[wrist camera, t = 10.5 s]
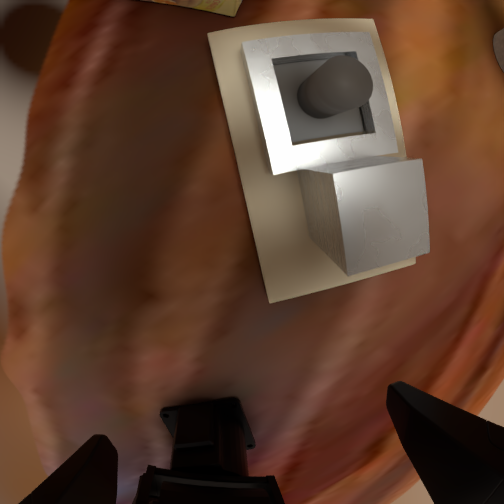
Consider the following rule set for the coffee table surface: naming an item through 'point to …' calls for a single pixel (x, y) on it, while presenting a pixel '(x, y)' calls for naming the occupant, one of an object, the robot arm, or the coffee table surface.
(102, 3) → the coffee table surface
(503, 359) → the coffee table surface
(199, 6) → the candy box
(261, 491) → the robot arm
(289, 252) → the board
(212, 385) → the coffee table surface
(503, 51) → the house plant
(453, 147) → the coffee table surface
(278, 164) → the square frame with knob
